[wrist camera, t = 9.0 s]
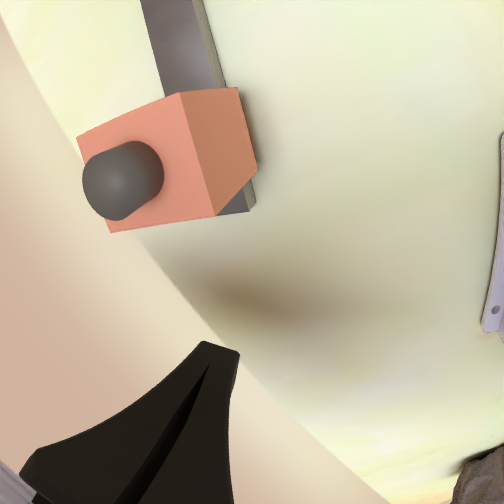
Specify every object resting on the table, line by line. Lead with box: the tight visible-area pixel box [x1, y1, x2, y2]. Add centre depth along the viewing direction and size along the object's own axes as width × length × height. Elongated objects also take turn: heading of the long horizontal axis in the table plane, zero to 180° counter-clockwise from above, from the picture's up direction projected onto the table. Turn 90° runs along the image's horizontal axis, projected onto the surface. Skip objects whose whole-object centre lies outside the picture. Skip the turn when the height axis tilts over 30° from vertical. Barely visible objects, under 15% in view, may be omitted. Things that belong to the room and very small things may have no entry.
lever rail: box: [140, 0, 256, 216], centre depth 10 cm, size 12×2×1 cm, turn 14°
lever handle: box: [76, 87, 258, 233], centre depth 8 cm, size 3×4×5 cm
